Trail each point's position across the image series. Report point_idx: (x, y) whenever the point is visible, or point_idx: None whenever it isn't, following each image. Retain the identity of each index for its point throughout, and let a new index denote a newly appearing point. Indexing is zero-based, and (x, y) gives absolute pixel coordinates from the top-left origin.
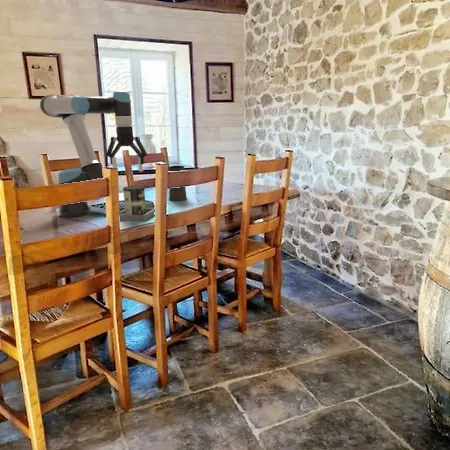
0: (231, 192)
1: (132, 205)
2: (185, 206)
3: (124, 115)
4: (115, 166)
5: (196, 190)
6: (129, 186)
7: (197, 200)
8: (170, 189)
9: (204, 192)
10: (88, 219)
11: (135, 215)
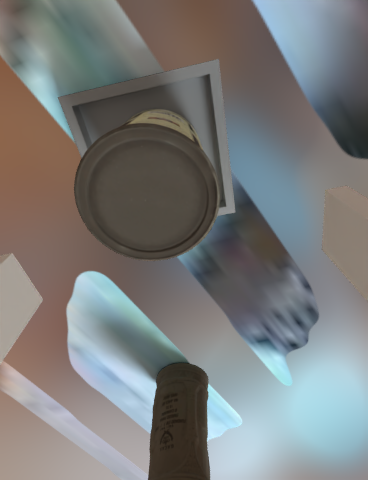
0: (98, 445)
1: (131, 119)
2: (99, 323)
3: None
4: (354, 254)
5: None
6: (205, 228)
7: (119, 379)
8: (191, 397)
9: None
10: (356, 30)
11: (103, 86)
